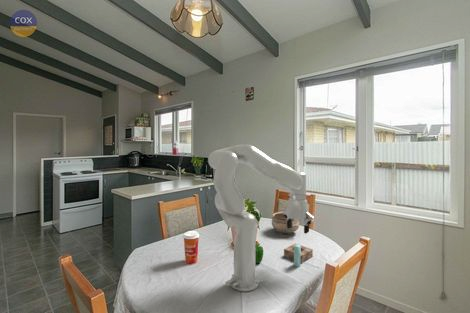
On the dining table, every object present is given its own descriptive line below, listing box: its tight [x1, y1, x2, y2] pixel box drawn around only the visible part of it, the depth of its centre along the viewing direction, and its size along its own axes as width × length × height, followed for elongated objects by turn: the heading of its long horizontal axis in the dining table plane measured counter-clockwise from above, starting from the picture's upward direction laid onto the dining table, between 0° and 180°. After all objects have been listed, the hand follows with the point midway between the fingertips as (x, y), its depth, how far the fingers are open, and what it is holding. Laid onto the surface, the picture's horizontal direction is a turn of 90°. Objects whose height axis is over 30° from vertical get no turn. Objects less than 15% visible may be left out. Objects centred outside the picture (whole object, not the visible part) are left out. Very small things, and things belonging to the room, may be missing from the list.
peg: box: [293, 244, 302, 268], centre depth 121 cm, size 3×3×10 cm
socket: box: [283, 243, 314, 264], centre depth 131 cm, size 11×11×4 cm
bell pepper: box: [255, 242, 264, 265], centre depth 125 cm, size 8×8×10 cm
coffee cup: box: [182, 230, 200, 265], centre depth 125 cm, size 8×8×15 cm
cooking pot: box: [271, 211, 300, 235], centre depth 167 cm, size 25×19×12 cm
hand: (297, 230), depth 121 cm, fingers open, 9 cm apart
